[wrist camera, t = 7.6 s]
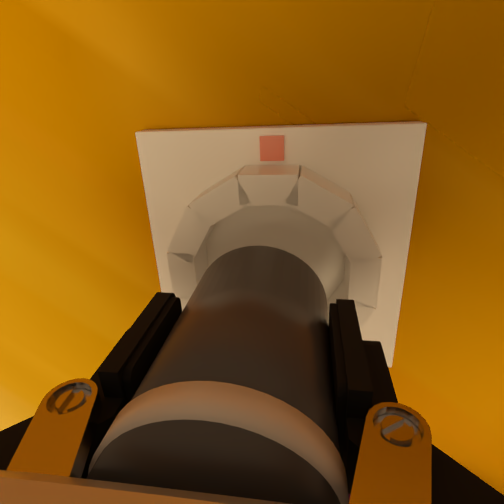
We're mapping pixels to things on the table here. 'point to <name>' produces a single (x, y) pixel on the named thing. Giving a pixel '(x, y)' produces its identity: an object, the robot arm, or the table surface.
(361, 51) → the table surface
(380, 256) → the lens mount
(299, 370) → the lens
